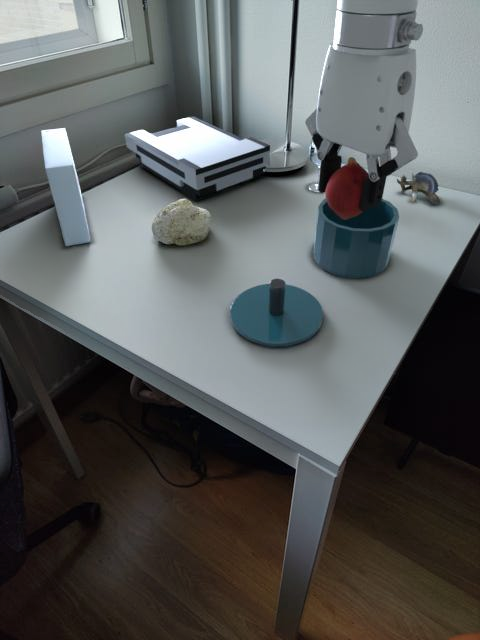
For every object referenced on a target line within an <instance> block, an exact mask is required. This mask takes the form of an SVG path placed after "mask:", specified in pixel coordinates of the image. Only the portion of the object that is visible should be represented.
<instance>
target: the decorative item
mask: <svg viewBox="0 0 480 640" xmlns="http://www.w3.org/2000/svg"><path fill="white" fill-rule="evenodd" d="M211 219H212V215H211V212H209V211H208V210H207V209H206V208H203V207H199V206H197V205H194V204H193V203H192V201H190V200H189V199H188V198H185V197H184V198H180V199H178V200H176V201H174V202H171V203H170V204H168V205H166V206H164V207H163V208H162V209H161V210H160V211H159V212H158V213H156V215H155V217H154V218H153V221H152V223H151V232H152V235H153V236H152V237H153V239H155V240H157V241H159V242H161V243H162V244H166V245H171V244H175V245H176V246H187V245H192V244H196V243H199V242H202V241H203V240H205V239H206V238H207V237H208V235H209V233H210V231H211V223H212V220H211Z"/></svg>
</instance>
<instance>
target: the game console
mask: <svg viewBox="0 0 480 640" xmlns="http://www.w3.org/2000/svg"><path fill="white" fill-rule="evenodd" d="M124 140H125V145H126V148H127V149H129V150H130V151H132V152H133V153H134V154H135V157H136V158H137V159H139V160H140V164H141V165H140V166H141V168H143V169H145V170H146V171H148V172H150V173H152V174H153V175H155V176H156V177H158V178H159V179H160V180H162V181H164V182H166V184H169V185H170V186H172V187H174V188H175V189H177V190H178V191H180V192H181V193H183V194H184V195H186V196H187V197H189V198H191V199H192V200H194V201H196V202H197V201H199V200H202V199H204V198H208V197H210V196H213V195H216V194H218V192H219V191H220V190H223V189H226V188H228V187H231V186H233V185H236V184H241V185H243V184H246V183H249V182H251V181H253V180H257V179H259V178H261V176H262V175H263V174H266V173H265V172H263V169H265V168H266V169H267V166H269V165H271V164H270V163H271V144H269V143H266V142H264V141H261V140H259V139H257V138H254V137H251V136H250V137H247V138H243V137H240V136H238V135H236V134H233V133H232V132H229V131H227V130H224V129H222V128H220V127H218V126H216V125H213V124H211V123H209V122H206V121H204V120H202V119H200V118H197V117H196V116H188V117H185V118H181V119H177V120H176V126H175V127H172V128H171V127H170V128H167V129H164V130H159V131H157V132H153V133H152V132H148V131H146V130H144V129H138V130H135V131H131V132H128V133H125V134H124Z"/></svg>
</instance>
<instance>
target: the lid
mask: <svg viewBox="0 0 480 640" xmlns="http://www.w3.org/2000/svg"><path fill="white" fill-rule="evenodd" d="M323 311H324V310H323V308H322V304H321V303H320V302H319V300H318V299H317V298H316V297H315V296H314V295H313V294H311V293H310V292H309V291H307V290H305V289H302V288H300V287H297V286H295V285H291V284H287V283H286V281H285V280H284V279H281V278H273V279H270V281H269V283H264V284H259V285H255V286H252V287H250V288H247V289H245V290H244V291H242V292H241V293H239V294H238V295H237V296H236V297H235V299H234V300H233V301H232V303H231V305H230V310H229V317H230V321H231V324H232V326H233V328H234V329H235V330H236V332H238V333H239V334H240V335H241V336H242V337H243V338H245V339H247V340H249V341H251V342H254V343H256V344H259V345H262V346H263V345H264V346H269V347H287V346H293V345H298V344H300V343H303V342H305V341H307V340H309V339H311V338H312V337H313V336H314V335H315V334H316V333H318V331H319V330H320V328H321V326H322V324H323V319H324V312H323Z"/></svg>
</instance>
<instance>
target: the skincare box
mask: <svg viewBox="0 0 480 640" xmlns="http://www.w3.org/2000/svg"><path fill="white" fill-rule="evenodd" d="M40 135H41V145H42V153H43V161H44V169H45V173H46V177H47V181H48V185H49V188H50V192H51V196H52V200H53V203H54V206H55V210H56V214H57V218H58V222H59V225H60V229H61V233H62V238H63V241H64V245H65V247H70V246H76V245H82V244H88V243H90V242H92V240H91V235H90V230H89V223H88V219H87V214H86V209H85V204H84V200H83V196H82V191H81V186H80V183H79V182H80V181H79V177H78V173H77V170H76V165H75V161H74V158H73V153H72V148H71V145H70V141H69V138H68V134H67V130H66V127H63V128H62V127H61V128H53V129H52V128H51V129H42V130H40Z"/></svg>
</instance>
